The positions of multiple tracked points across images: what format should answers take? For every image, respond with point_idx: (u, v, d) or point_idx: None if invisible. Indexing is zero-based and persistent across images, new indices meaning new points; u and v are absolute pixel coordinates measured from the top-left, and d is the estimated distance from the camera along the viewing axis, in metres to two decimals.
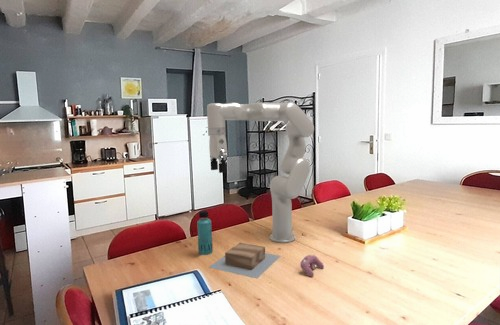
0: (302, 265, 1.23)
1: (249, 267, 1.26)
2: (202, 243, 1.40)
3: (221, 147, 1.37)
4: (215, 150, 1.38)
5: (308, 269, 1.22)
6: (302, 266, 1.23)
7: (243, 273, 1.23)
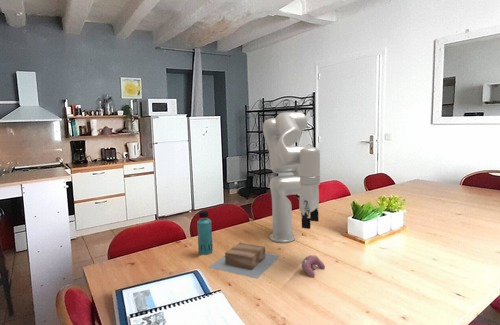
0: (303, 265, 1.23)
1: (249, 267, 1.26)
2: (202, 243, 1.40)
3: None
4: (318, 198, 1.25)
5: (309, 269, 1.22)
6: (303, 266, 1.23)
7: (243, 273, 1.23)
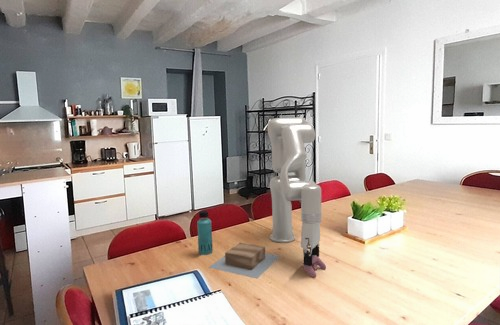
0: (304, 266, 1.23)
1: (249, 267, 1.26)
2: (202, 243, 1.40)
3: None
4: (319, 234, 1.26)
5: (310, 270, 1.21)
6: (304, 267, 1.23)
7: (243, 273, 1.23)
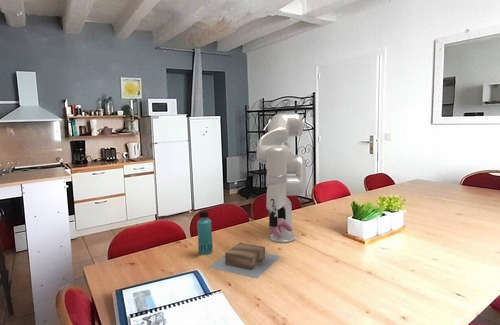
0: (270, 227, 1.25)
1: (249, 267, 1.26)
2: (202, 243, 1.40)
3: None
4: (285, 196, 1.28)
5: (276, 230, 1.23)
6: (270, 228, 1.24)
7: (243, 273, 1.23)
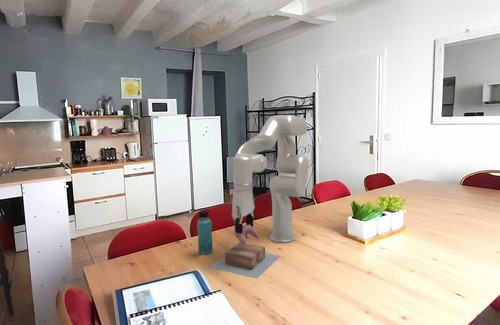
0: (236, 233, 1.28)
1: (249, 267, 1.26)
2: (202, 243, 1.40)
3: None
4: (252, 204, 1.32)
5: (241, 237, 1.27)
6: (236, 234, 1.28)
7: (243, 273, 1.23)
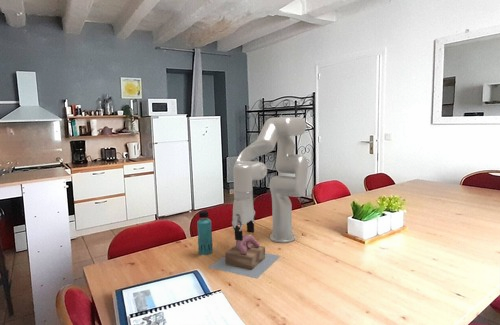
0: (237, 244, 1.29)
1: (249, 267, 1.26)
2: (202, 243, 1.40)
3: None
4: (252, 211, 1.32)
5: (242, 247, 1.28)
6: (237, 245, 1.29)
7: (243, 273, 1.23)
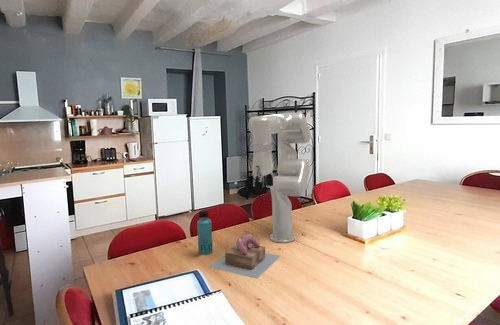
0: (237, 244, 1.29)
1: (249, 267, 1.26)
2: (202, 243, 1.40)
3: None
4: (271, 164, 1.36)
5: (242, 247, 1.28)
6: (237, 245, 1.29)
7: (243, 273, 1.23)
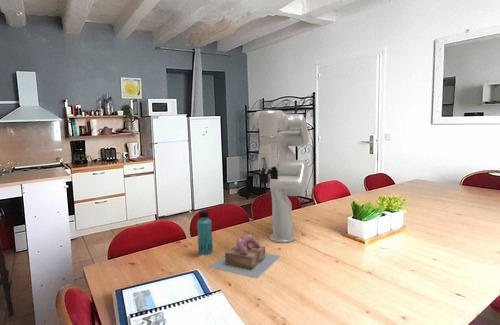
0: (237, 244, 1.29)
1: (249, 267, 1.26)
2: (202, 243, 1.40)
3: None
4: (277, 158, 1.37)
5: (242, 247, 1.28)
6: (237, 245, 1.29)
7: (243, 273, 1.23)
